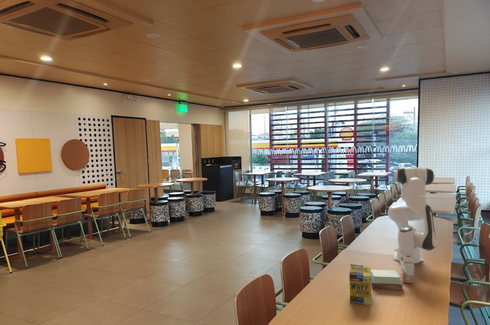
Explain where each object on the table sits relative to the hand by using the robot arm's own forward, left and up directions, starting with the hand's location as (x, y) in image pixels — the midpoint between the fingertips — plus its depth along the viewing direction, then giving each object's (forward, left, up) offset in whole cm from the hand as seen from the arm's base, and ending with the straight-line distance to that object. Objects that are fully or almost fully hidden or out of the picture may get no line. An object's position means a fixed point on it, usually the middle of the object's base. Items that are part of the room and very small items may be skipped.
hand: (406, 277), depth 193 cm
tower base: (+8, -13, -3) cm, 15 cm away
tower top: (+9, -13, +1) cm, 16 cm away
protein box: (+26, -28, -3) cm, 38 cm away
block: (0, 0, -2) cm, 2 cm away
